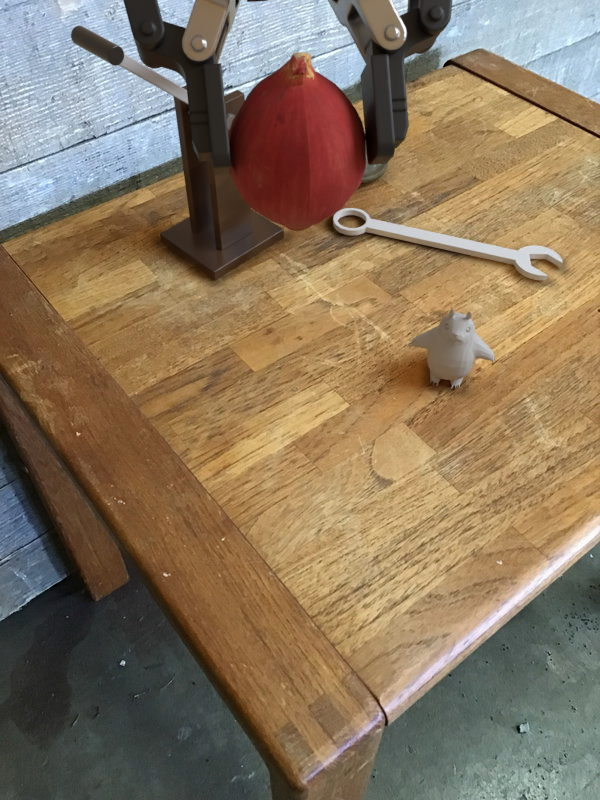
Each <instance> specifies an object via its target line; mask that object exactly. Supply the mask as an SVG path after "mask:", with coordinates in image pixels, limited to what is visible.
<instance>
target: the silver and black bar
mask: <svg viewBox="0 0 600 800" xmlns="http://www.w3.org/2000/svg"><path fill="white" fill-rule="evenodd" d="M70 38H71V41H72V43H73V44H74V45H76V46H77V47H80V48H81V49H83V50H84V51H87V52H88V53H90V54H92V55H94V56H96V57H97V58H99V59H101V60H103V61H104V62H106V63H108V64H110V65H112V66H113V67H114V66H115V67H116V66H119V67H121V68H122V69H124V70H126V71H128V72H130V73H131V74H133V75H135V76H137V77H138V78H140V79H142V80H144V81H146V82H147V83H149V84H151V85H153V86H154V87H156V88H158V89H160V90H162V91H163V92H165V93H167V94H169V95H170V96H172V97H173V96H174V97H176V98H177V99H179V100H181V101H183V102H185V103H186V104H188V96H187V90H186V89H184V88H182V87H183V86H180V85H179V84H177V83H176V82H174V81H172V80H171V79H169V78H167V77H165V76H163V74H160V73H159V72H157V71H155V70H153V68H150V67H147V66H146V65H145V64H143V63H142V62H140V61H138V60H136V59H135V58H134V57H131V56H130V55H128V54H126V53H125V52H124V49H123V48H122V47H121V46H119V45H118V44H116V43H115V42H112V41H110V39H109V40H108V39H107V38H105V37H103V36H101V35H99V34H97V33H95V32H94V31H92V30H90V29H88V28H86V27H85V26H83V25H75V26H74V27H73V29H71V32H70ZM174 97H173V98H174ZM188 114H189V112H188Z"/></svg>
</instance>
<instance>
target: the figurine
mask: <svg viewBox="0 0 600 800" xmlns="http://www.w3.org/2000/svg"><path fill="white" fill-rule="evenodd" d="M407 346H408V347H407V350H409V349H410V348H412V347H414V348H419V349H420V348H421V349H425V350H427V351H426V352H427V353H426V362H427V367H428V369H429V378H430V379H429V380H430V381H429V383H430V384H431V383H432V385H433V386H434V385H435V383H436V386H438V385H439V383H440V381H441V380H446V381H450V385H451V388H450V389H451V390H453V387H454V389H455V390H456V389H457V387H458V389H460V387H461V384H462V382H463V380H464V377H466V376H467V375H468V374H469V373H470V372H471V370H472V369H473V366H474V363H475V361H476V359H480V360H481V359H482V360H486V361H491V363H493V364H495V362H497V358H495V353H494V351H493V349H491V348H490V346H489V345H488V344H487V343H486V342H485V341H484V340H483V339H482V338H481V337H480V336H479V334H478V333H476V326H475V322H474V320H473V319H472V312H471V311H468V312H467V313H466V314H465V313H462V312H455V309H454V308H451V309H450V310H449V311H448V314H446V315H445V316H444V317H442V319H440V322H439V324H438V325H437V326H435V327H433V328H431V329H429V330H427V331H425V332H421V333H420V334H418V335H416V336H415V337H413V338H412V340H411V342H409V343H407Z"/></svg>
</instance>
